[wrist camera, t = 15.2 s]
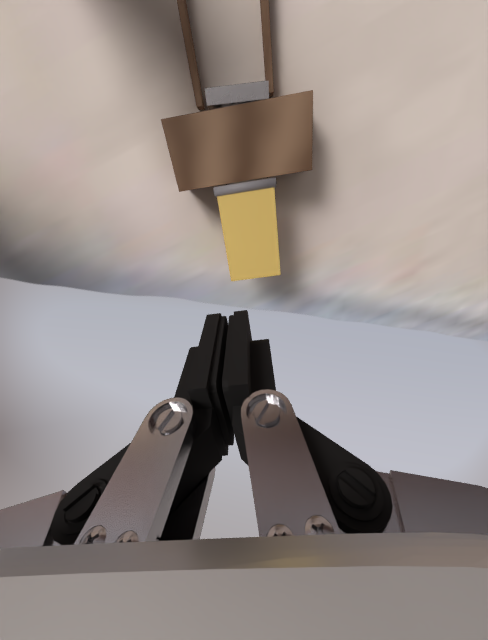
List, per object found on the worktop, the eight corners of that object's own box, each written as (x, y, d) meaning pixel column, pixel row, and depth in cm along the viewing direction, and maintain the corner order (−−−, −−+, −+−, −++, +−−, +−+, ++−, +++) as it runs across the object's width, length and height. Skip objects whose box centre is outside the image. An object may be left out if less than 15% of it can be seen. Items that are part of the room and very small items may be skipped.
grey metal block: (268, 210, 30) (271, 215, 27) (224, 214, 31) (221, 220, 27) (265, 93, 24) (268, 80, 21) (210, 99, 25) (204, 88, 21)
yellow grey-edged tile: (230, 279, 29) (229, 282, 29) (214, 187, 25) (213, 187, 24) (281, 273, 29) (282, 275, 28) (274, 177, 24) (275, 176, 23)
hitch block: (188, 188, 29) (179, 191, 25) (115, -122, 18) (79, -203, 14) (303, 170, 28) (312, 169, 24) (300, -175, 17) (316, -279, 13)
